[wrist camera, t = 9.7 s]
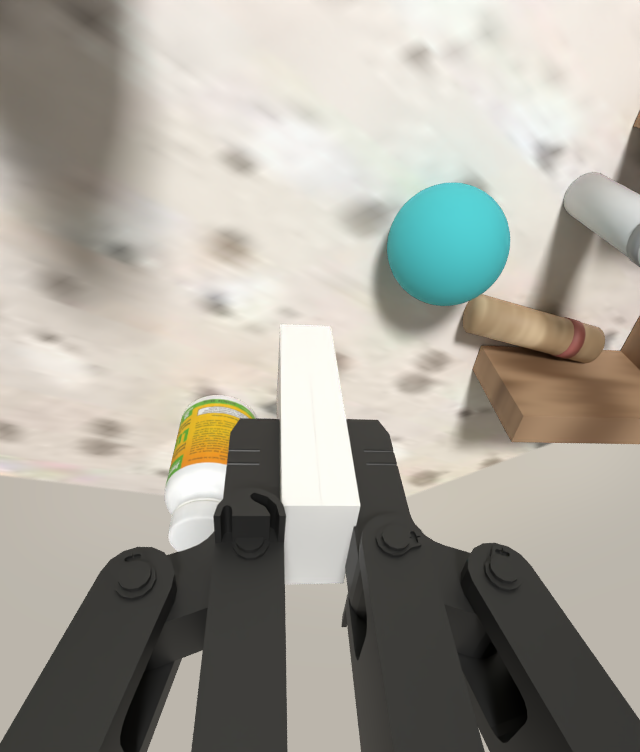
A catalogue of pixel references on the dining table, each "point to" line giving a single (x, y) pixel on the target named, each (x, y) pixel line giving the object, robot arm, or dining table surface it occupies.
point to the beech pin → (533, 329)
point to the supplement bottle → (200, 467)
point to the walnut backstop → (564, 392)
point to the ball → (448, 244)
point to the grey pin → (607, 211)
